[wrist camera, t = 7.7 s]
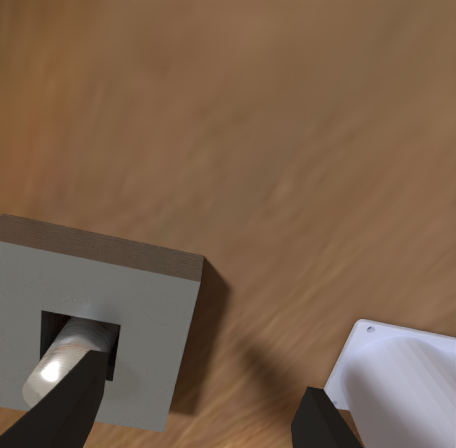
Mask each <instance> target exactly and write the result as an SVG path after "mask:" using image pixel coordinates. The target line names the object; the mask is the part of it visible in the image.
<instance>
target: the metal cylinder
mask: <svg viewBox="0 0 456 448" xmlns="http://www.w3.org/2000/svg"><path fill="white" fill-rule="evenodd" d="M120 329H121V325H118V324H113V323H108V322H102V321H97V320H92V319H86V318H81V317H75V316H71V317H70V319H69V320H68V322H67V323H66V325H65V326H64V328H63V329H62V330H61V332H60V333H59V335H58V336H57V338H56V339H55V340H54V342H53V343H52V345H51V346H50V348H49V349H48V350H47V352H46V353H45V355H44V356H43V358H42V359H41V360H40V362H39V363H38V365H37V366H36V368H35V369H34V371H33V372H32V373H31V375H30V376H29V378H28V379H27V381H26V382H25V383H24V386H23V390H22V393H23V397H24V400H25V401H26V403H27V404H28V405H29V406H30V407H31V408H33V407H34V406H35V405H36V404H37V403H38V402H39V401H40V400H41V399H42V398H43V397H44V396H45V395H46V394H47V393H48V392H49V391H51V390H52V389H53V388H54V387H55V386H56V385H57V384H58V383H59V382H60V381H61V380H62V379H63V378H64V377H65V376H66V375H67V374H68V372H69V371H70V370H71V369H72V368H73V367H74V366H75V365H76V364H77V363H78V362H79V361H80V360H81V358H82V357H83V356H84V355H85V354H86V353H87V352H88V351H89V350H96V351H102V352H108V353H109V354H110V352H111V350H112V348H113V345H114V343H115V341H116V339H117V336H118V334H119V332H120ZM108 357H109V355H108Z"/></svg>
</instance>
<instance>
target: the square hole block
mask: <svg viewBox="0 0 456 448" xmlns="http://www.w3.org/2000/svg"><path fill="white" fill-rule="evenodd" d="M203 260H204V256H201V255H196V254H191V253H186V252H182V251H177V250H172V249H168V248H163V247H158V246H153V245H149V244H144V243H139V242H135V241H130V240H125V239H120V238H116V237H111V236H106V235H102V234H97V233H92V232H87V231H83V230H78V229H73V228H69V227H64V226H59V225H54V224H50V223H45V222H40V221H36V220H31V219H26V218H21V217H17V216H12V215H7V214H3V215H1V216H0V407H4V408H11V409H17V410H24V411H29V410H30V409H31V407H30V406H29V405H28V404H27V403H26V401H25V400H24V397H23V393H22V390H23V386H24V383H25V382H26V381H27V379H28V378H29V376H30V375H31V373H32V372H33V371H34V369H35V368H36V366H37V365H38V363H39V362H40V360H41V359H42V358H43V356H44V355H45V353H46V352H47V350H48V349H49V348H50V346H51V345H52V343H53V342H54V340H55V339H56V338H57V336H58V335H59V333H60V332H61V330H62V329H63V324H64V314H65V315H70V316H75V317H81V318H86V319H92V320H97V321H102V322H108V323H113V324H118V325H121V329H120V336H119V342H118V344H114V345H113V348H112V350H111V352H110V354H109V357H108V363H107V371H106V380H105V388H104V396H103V398H102V401H101V404H100V407H99V410H98V413H97V415H96V418H95V421H94V422H101V423H107V424H114V425H120V426H126V427H133V428H139V429H146V430H152V431H158V432H164V429H165V425H166V421H167V416H168V412H169V408H170V404H171V400H172V396H173V392H174V388H175V384H176V380H177V376H178V372H179V368H180V364H181V360H182V356H183V352H184V348H185V343H186V339H187V335H188V331H189V327H190V323H191V319H192V315H193V311H194V307H195V303H196V299H197V295H198V291H199V287H200V283H201V275H202V268H203Z"/></svg>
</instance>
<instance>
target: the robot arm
mask: <svg viewBox="0 0 456 448" xmlns="http://www.w3.org/2000/svg"><path fill="white" fill-rule="evenodd" d="M369 327H371V328H370V329H368V328H369ZM108 355H109V353H108V352H102V351H96V350H89V351H88V352H87V353H86V354H85V355H84V356H83V357H82V358H81V360H80V361H79V362H78V363H77V364H76V365H75V366H74V367H73V368H72V369H71V370H70V371H69V372H68V374H67V375H66V376H65V377H64V378H63V379H62V380H61V381H60V382H59V383H58V384H57V385H56V386H55V387H54V388H53V389H52V390H51V391H49V392H48V393H47V394H46V395H45V396H44V397H43V398H42V399H41V400H40V401H39V402H38V403H37V404H36V405H35V406H34V407H33V408H31V409H30V410H29V411H28V412H27V413H26V414H25V415H24V416H22V417H21V418H20V419H19V420H18V421H17V422H16V423H15V424H13V425H12V426H11V427H10V428H9V429H8V430H6V431H5V432H4V433H3V434H2V435H0V448H83V446H84V444H85V442H86V440H87V437H88V435H89V433H90V431H91V429H92V426H93V424H94V421H95V418H96V415H97V413H98V410H99V407H100V404H101V401H102V398H103V396H104V388H105V380H106V371H107V363H108ZM336 408H337V409H343V410H349V411H350V413H351V415H352V418H353V420H354V423H355V425H356V428H357V430H358V433H359V435H360V438H361V440H362V443H363V445H364V448H456V338H455V337H450V336H445V335H440V334H435V333H430V332H425V331H420V330H415V329H411V328H406V327H401V326H396V325H391V324H386V323H381V322H376V321H371V320H366V319H361V320H358V321H357V322H356V323H355V325H354V327H353V329H352V331H351V333H350V335H349V337H348V339H347V341H346V343H345V345H344V348H343V350H342V352H341V354H340V356H339V358H338V360H337V362H336V364H335V366H334V368H333V371H332V373H331V375H330V377H329V379H328V381H327V383H326V385H325V387H324V389H319V388H313V387H307V389H306V392H305V394H304V396H303V398H302V401H301V403H300V405H299V408H298V410H297V412H296V415H295V417H294V419H293V421H292V424H291V432H292V443H293V448H363V447H362V446H361V444H360V443H359V441H358V440H357V438H356V437H355V435H354V434H353V433H352V431H351V430H350V428H349V427H348V425H347V424H346V422H345V421H344V419H343V418H342V416H341V415H340V413H339V412H338V410H337V409H336Z"/></svg>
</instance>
